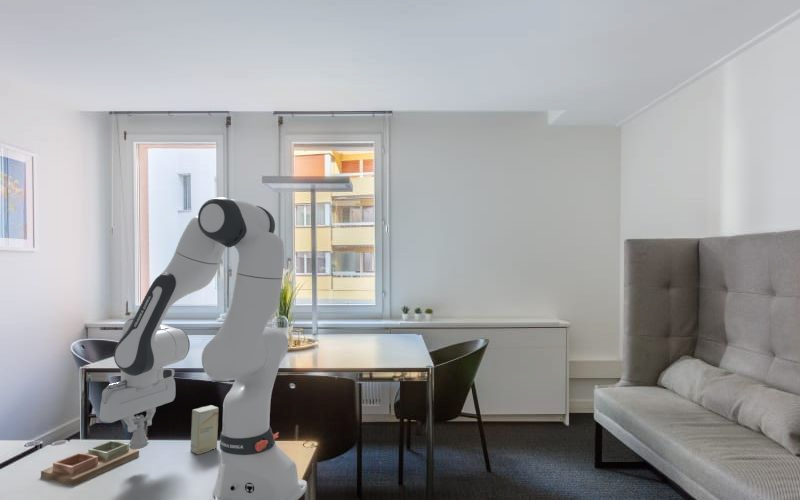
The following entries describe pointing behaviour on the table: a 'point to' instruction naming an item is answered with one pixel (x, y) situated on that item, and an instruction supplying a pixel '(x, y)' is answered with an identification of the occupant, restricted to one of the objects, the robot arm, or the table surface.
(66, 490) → the table surface
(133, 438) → the rook chess piece
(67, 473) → the board
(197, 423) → the skincare box
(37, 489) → the table surface
